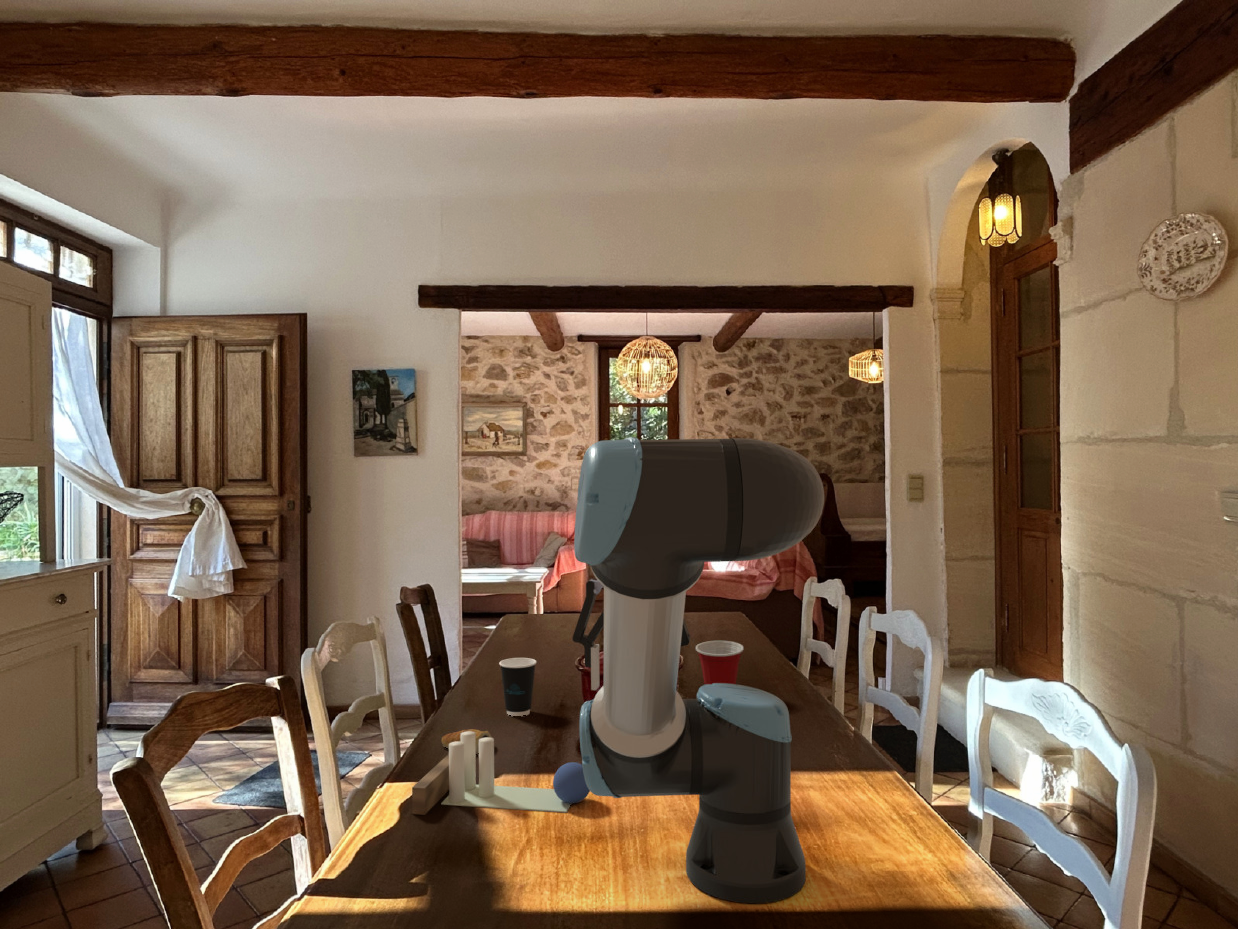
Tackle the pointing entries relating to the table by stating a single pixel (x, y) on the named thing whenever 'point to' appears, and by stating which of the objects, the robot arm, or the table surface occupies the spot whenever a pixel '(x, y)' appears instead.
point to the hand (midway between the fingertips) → (631, 689)
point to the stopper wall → (431, 788)
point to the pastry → (456, 737)
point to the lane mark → (515, 799)
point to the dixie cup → (518, 684)
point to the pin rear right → (456, 772)
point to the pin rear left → (469, 759)
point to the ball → (570, 783)
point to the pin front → (486, 767)
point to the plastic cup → (719, 661)
